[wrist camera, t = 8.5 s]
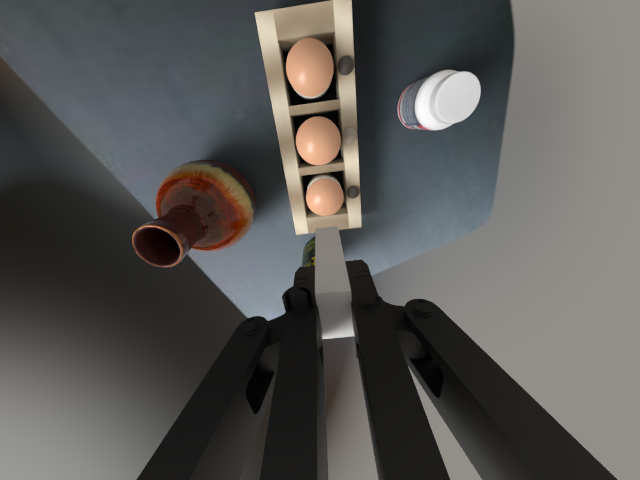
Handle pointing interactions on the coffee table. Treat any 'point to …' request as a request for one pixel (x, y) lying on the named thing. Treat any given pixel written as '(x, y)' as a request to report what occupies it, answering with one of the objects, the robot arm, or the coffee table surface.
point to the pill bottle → (439, 100)
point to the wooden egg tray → (279, 36)
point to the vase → (196, 213)
